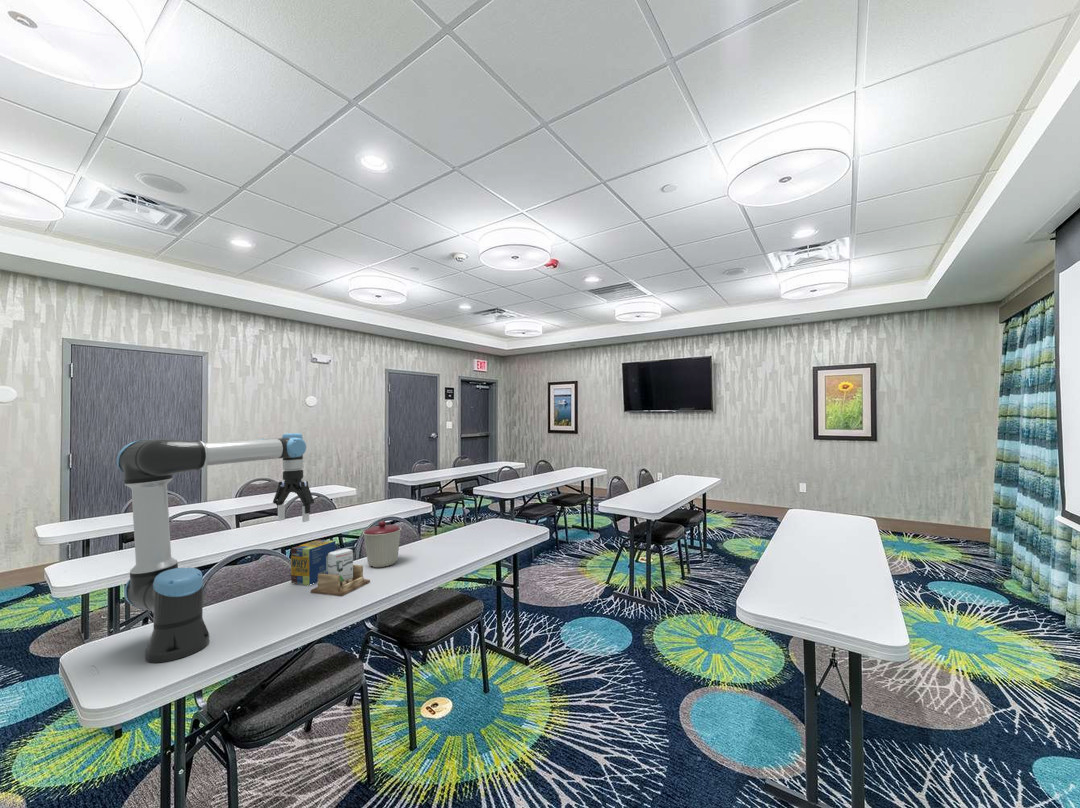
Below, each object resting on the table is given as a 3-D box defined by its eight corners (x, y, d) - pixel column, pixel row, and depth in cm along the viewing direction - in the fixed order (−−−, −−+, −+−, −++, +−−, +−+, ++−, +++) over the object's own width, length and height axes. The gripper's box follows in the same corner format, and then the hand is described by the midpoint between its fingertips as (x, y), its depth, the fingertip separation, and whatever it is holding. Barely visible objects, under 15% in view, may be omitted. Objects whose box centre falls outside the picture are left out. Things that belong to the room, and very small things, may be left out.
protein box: (290, 584, 191) (290, 548, 192) (318, 572, 205) (318, 539, 206) (309, 586, 188) (308, 549, 188) (336, 574, 202) (336, 540, 203)
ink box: (333, 583, 179) (333, 554, 180) (327, 581, 182) (327, 552, 183) (353, 577, 186) (353, 549, 187) (347, 575, 189) (346, 547, 190)
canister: (383, 557, 226) (382, 516, 228) (410, 560, 219) (409, 518, 220) (354, 568, 210) (353, 523, 211) (382, 572, 202) (381, 525, 204)
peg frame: (341, 596, 174) (341, 577, 174) (310, 592, 179) (310, 574, 179) (370, 582, 189) (369, 565, 189) (340, 579, 194) (340, 563, 194)
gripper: (323, 468, 184) (323, 519, 183) (278, 469, 192) (279, 518, 191) (308, 470, 177) (308, 523, 176) (263, 471, 185) (263, 521, 184)
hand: (293, 521), depth 184 cm, fingers open, 13 cm apart
